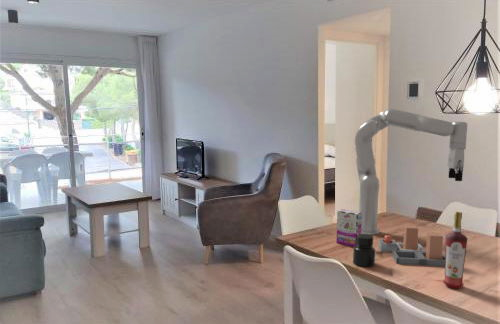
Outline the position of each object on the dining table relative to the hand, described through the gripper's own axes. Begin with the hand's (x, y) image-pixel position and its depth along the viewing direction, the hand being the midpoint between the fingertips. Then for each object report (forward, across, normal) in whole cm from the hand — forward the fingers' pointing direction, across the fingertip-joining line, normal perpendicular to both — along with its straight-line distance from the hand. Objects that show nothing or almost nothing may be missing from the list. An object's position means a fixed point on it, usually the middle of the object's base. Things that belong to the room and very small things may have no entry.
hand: (455, 179), depth 217 cm
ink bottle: (+31, +47, -50) cm, 76 cm away
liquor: (+31, +66, -21) cm, 76 cm away
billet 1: (+30, +28, -27) cm, 50 cm away
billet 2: (+30, +42, -21) cm, 56 cm away
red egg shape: (+28, +28, -37) cm, 54 cm away
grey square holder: (+30, +28, -37) cm, 56 cm away
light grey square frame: (+30, +28, -27) cm, 50 cm away
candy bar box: (+31, +21, -54) cm, 66 cm away
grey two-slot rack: (+30, +42, -26) cm, 58 cm away
